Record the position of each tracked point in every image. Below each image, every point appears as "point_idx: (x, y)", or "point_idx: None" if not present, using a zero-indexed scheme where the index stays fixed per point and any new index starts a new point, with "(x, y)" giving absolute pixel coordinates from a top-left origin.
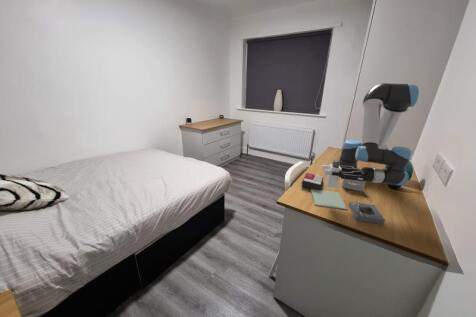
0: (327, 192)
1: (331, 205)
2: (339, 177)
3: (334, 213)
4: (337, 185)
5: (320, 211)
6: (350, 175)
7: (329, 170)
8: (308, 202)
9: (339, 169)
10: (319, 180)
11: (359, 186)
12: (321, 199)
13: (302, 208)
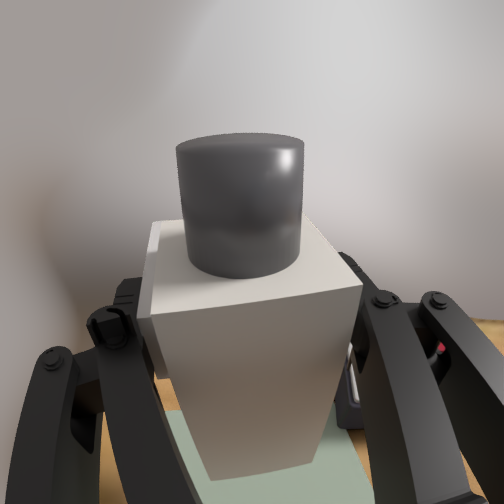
0: (344, 474)
1: None
2: (187, 423)
3: (99, 500)
4: (207, 472)
5: (102, 434)
6: (12, 470)
7: (149, 242)
8: (172, 388)
9: (154, 297)
10: None
11: None
12: None
13: None
